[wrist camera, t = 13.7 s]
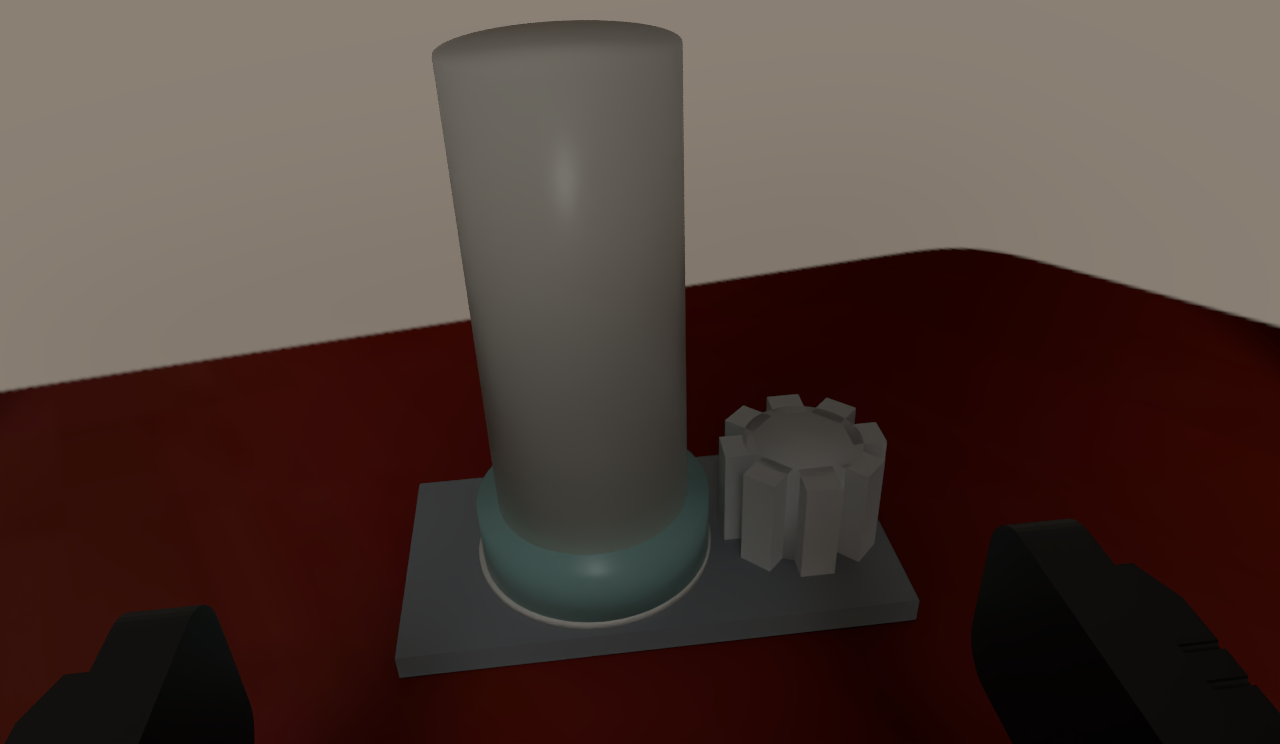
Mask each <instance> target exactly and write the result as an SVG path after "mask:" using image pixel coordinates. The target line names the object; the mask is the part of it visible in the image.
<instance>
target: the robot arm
mask: <svg viewBox="0 0 1280 744" xmlns="http://www.w3.org/2000/svg"><path fill="white" fill-rule="evenodd" d="M971 643H972V652H973V658H974V663H975V667H976V670H977V673H978V677H979V679H980V682H981V684H982V686H983V688H984V690H985V692H986V694H987V696H988V698H989V700H990V702H991V704H992V706H993V707H994V709H995V711H996V713H997V715H998V717H999V719H1000V721H1001V723H1002V724H1003V726H1004V728H1005V730H1006V732H1007V734H1008V736H1009V738H1010V740H1011V741H1012V743H1013V744H1280V713H1279V712H1278V711H1277V709H1276V708H1275V707H1274V706H1273V705H1272V704H1271V702H1270V701H1269V700H1268V699H1267V698H1266V696H1265V695H1264V694H1263V693H1262V692H1261V690H1260V689H1259V688H1258V687H1257V686H1256V685H1253V686H1251V685H1250V683H1249V681H1248V675H1247V674H1246V673H1245V671H1244V670H1243V669H1242V668H1241V667H1240V666H1239V664H1238V663H1237V662H1236V661H1235V660H1234V658H1233V657H1232V656H1231V655H1230V654H1229V652H1228V651H1227V650H1226V649H1220V648H1219V646H1218V639H1217V638H1216V637H1215V636H1214V635H1213V633H1212V632H1211V631H1210V630H1209V629H1208V628H1207V626H1206V625H1205V624H1204V623H1203V622H1202V620H1201V619H1200V618H1199V617H1198V616H1197V614H1196V613H1195V612H1194V611H1193V610H1192V609H1191V607H1190V606H1189V605H1188V604H1187V603H1186V601H1185V600H1184V599H1183V598H1182V597H1181V596H1179V595H1178V594H1176V593H1175V592H1174V591H1172V590H1171V589H1169V588H1168V587H1166V586H1165V585H1163V584H1162V583H1160V582H1159V581H1158V580H1156V579H1155V578H1153V577H1152V576H1150V575H1149V574H1147V573H1146V572H1145V571H1143V570H1142V569H1140V568H1139V567H1137V566H1136V565H1134V564H1133V563H1129V564H1120V565H1114V563H1113V562H1112V561H1111V559H1110V558H1109V557H1108V556H1107V554H1106V553H1105V552H1104V551H1103V549H1102V548H1101V547H1100V546H1099V544H1098V543H1097V542H1096V540H1095V539H1094V538H1093V537H1092V535H1091V534H1090V533H1089V532H1088V530H1087V529H1086V528H1085V527H1084V526H1083V525H1082V524H1080V523H1079V522H1078V521H1076V520H1074V519H1060V520H1050V521H1041V522H1031V523H1021V524H1011V525H1003V526H999V527H998V528H997V529H996V530H995V531H994V533H993V535H992V537H991V541H990V545H989V550H988V554H987V559H986V564H985V568H984V573H983V578H982V582H981V587H980V591H979V596H978V601H977V605H976V610H975V615H974V619H973V624H972V632H971ZM5 744H254V721H253V713H252V709H251V705H250V702H249V699H248V697H247V694H246V691H245V689H244V686H243V683H242V681H241V678H240V675H239V673H238V670H237V668H236V665H235V662H234V660H233V657H232V654H231V652H230V649H229V646H228V644H227V641H226V639H225V636H224V633H223V631H222V628H221V625H220V623H219V620H218V618H217V616H216V614H215V612H214V611H213V609H212V608H211V607H209V606H207V605H197V606H187V607H177V608H168V609H158V610H148V611H138V612H129V613H125V614H123V615H122V616H120V617H119V618H118V619H117V620H116V622H115V623H114V625H113V626H112V628H111V630H110V632H109V634H108V636H107V638H106V640H105V642H104V644H103V646H102V648H101V650H100V652H99V654H98V656H97V658H96V660H95V662H94V664H93V666H92V668H91V670H90V672H85V673H75V674H66V675H63V676H62V677H61V678H60V679H59V680H58V681H57V682H56V683H55V684H54V685H53V686H52V687H51V688H50V689H49V690H48V691H47V692H46V693H45V694H44V695H43V696H42V697H41V698H40V699H39V700H38V701H37V702H36V703H35V704H34V705H33V706H32V707H31V708H30V709H29V710H28V711H27V712H26V713H25V715H24V716H23V717H22V718H21V719H20V720H19V721H18V722H17V723H16V724H15V726H14V727H13V729H12V731H11V733H10V735H9V737H8V738H7V740H6V742H5Z"/></svg>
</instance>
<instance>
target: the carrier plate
mask: <svg viewBox="0 0 1280 744" xmlns="http://www.w3.org/2000/svg"><path fill="white" fill-rule="evenodd" d="M855 413H856V408H855V407H852V406H849V405H846V404H843V403H840V402H838V401H835V400H832V399H829V398H826V399H825V400H824V401H823V402H822V403H820V404H819V405H818V406H817V407H816V408H814V407H806V406H804V405H803V403H802V401H801V399H800V397H799V395H798V394H794V395H783V396H772V397H767V407H766V412H763V413H762V412H759V411H757V410H754V409H751V408H749V407H746V406H744V405H743V406H742V407H741V408H740V409H738V410H737V411H736V412H735V413H733V414H732V415H731V416H730V417H729V418H727V419H726V420H725V437H719V455H713V456H702V457H695V458H696V459H697V460H698V461H699V463H700V464H701V466H702V468H703V469H704V472H705V474H706V477H707V480H708V486H709V538H708V550H707V554H706V558H705V560H704V563H703V565H702V567H701V569H700V570H699V572H698V573H697V575H696V577H695V578H694V579H693V580H692V581H691V582H690V583H689V585H688V586H687V587H686V588H684V589H683V590H682V591H681V592H680V593H679V594H677V595H676V596H674V597H673V598H671V599H670V600H668V601H667V602H665V603H664V604H662V605H660V606H658V607H656V608H654V609H652V610H649V611H646V612H644V613H641V614H638V615H635V616H631V617H627V618H624V619H619V620H612V621H606V622H590V623H589V622H570V621H563V620H557V619H553V618H549V617H545V616H542V615H539V614H537V613H534V612H531V611H529V610H527V609H525V608H523V607H521V606H520V605H518V604H516V603H515V602H513V601H512V600H511V599H509V598H508V597H507V596H506V595H505V594H504V593H503V592H502V591H501V590H500V589H499V588H498V587H497V586H496V584H495V583H494V582H493V580H492V578H491V576H490V574H489V572H488V570H487V566H486V562H485V558H484V551H483V545H482V539H481V533H480V527H479V521H478V515H477V504H476V500H477V494H478V490H479V487H480V484H481V482H482V480H483V478H475V479H464V480H454V481H444V482H433V483H423V484H420V486H419V493H418V500H417V507H416V514H415V521H414V528H413V535H412V542H411V549H410V556H409V563H408V570H407V577H406V584H405V591H404V598H403V605H402V612H401V619H400V626H399V633H398V640H397V647H396V654H395V661H396V665H397V669H398V673H399V677H400V678H403V677H412V676H421V675H430V674H439V673H447V672H456V671H465V670H474V669H483V668H492V667H501V666H509V665H518V664H527V663H536V662H545V661H554V660H563V659H572V658H580V657H589V656H598V655H607V654H616V653H625V652H634V651H642V650H651V649H660V648H669V647H678V646H687V645H696V644H704V643H713V642H722V641H731V640H740V639H749V638H758V637H766V636H775V635H784V634H793V633H802V632H811V631H820V630H829V629H837V628H846V627H855V626H864V625H873V624H882V623H891V622H899V621H908V620H916V617H917V611H918V606H919V599H918V597H917V595H916V593H915V591H914V589H913V587H912V585H911V583H910V581H909V579H908V577H907V575H906V573H905V571H904V569H903V567H902V565H901V563H900V561H899V559H898V557H897V555H896V553H895V552H894V550H893V548H892V546H891V544H890V542H889V540H888V538H887V536H886V534H885V532H884V530H883V528H882V526H881V524H880V522H879V520H878V512H879V504H880V496H881V489H882V481H883V473H884V466H885V454H886V446H887V440H886V439H885V437H884V435H883V434H882V432H881V430H880V429H879V427H878V425H877V423H876V422H872V423H862V424H854V422H855Z"/></svg>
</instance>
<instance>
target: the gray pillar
mask: <svg viewBox="0 0 1280 744" xmlns="http://www.w3.org/2000/svg"><path fill="white" fill-rule="evenodd" d="M432 61H433V67H434V74H435V81H436V88H437V94H438V101H439V108H440V115H441V121H442V128H443V134H444V142H445V148H446V155H447V162H448V169H449V175H450V182H451V188H452V195H453V202H454V209H455V216H456V222H457V229H458V236H459V243H460V249H461V256H462V263H463V270H464V276H465V283H466V290H467V297H468V303H469V310H470V317H471V324H472V330H473V337H474V344H475V350H476V357H477V364H478V371H479V377H480V384H481V391H482V398H483V404H484V411H485V418H486V425H487V431H488V438H489V445H490V452H491V458H492V465H493V466H492V467H491V468H490V469H489V471H488V472H487V473H486V475H485V477H484V478H483V480H482V482H481V484H480V487H479V490H478V494H477V500H476V504H477V515H478V521H479V527H480V533H481V539H482V545H483V551H484V558H485V562H486V566H487V570H488V572H489V574H490V576H491V578H492V580H493V582H494V583H495V584H496V586H497V587H498V588H499V589H500V590H501V591H502V592H503V593H504V594H505V595H506V596H507V597H508V598H509V599H511V600H512V601H513V602H515V603H516V604H518V605H520V606H521V607H523V608H525V609H527V610H529V611H531V612H534V613H537V614H539V615H542V616H545V617H549V618H553V619H557V620H563V621H570V622H589V623H590V622H606V621H612V620H619V619H624V618H627V617H631V616H635V615H638V614H641V613H644V612H646V611H649V610H652V609H654V608H656V607H658V606H660V605H662V604H664V603H665V602H667V601H668V600H670V599H671V598H673V597H674V596H676V595H677V594H679V593H680V592H681V591H682V590H683V589H684V588H686V587H687V586H688V585H689V583H690V582H691V581H692V580H693V579H694V578H695V577H696V575H697V573H698V572H699V570H700V569H701V567H702V565H703V563H704V560H705V558H706V554H707V550H708V538H709V486H708V480H707V477H706V474H705V472H704V469H703V468H702V466H701V464H700V463H699V461H698V460H697V459H696V458H695V457H694V455H693V454H692V453H691V452H689V451H688V450H687V420H686V328H685V237H684V145H683V144H684V143H683V50H682V39H681V38H680V37H679V36H678V35H677V34H675V33H673V32H671V31H669V30H666V29H663V28H660V27H656V26H651V25H645V24H638V23H630V22H619V21H618V22H617V21H598V20H576V21H575V20H574V21H552V22H538V23H528V24H519V25H511V26H505V27H498V28H493V29H488V30H483V31H479V32H474V33H471V34H467V35H463V36H460V37H457V38H454V39H452V40H449V41H447V42H445V43H443V44H441V45H440V46H438V47H437V48H436V49H435V50H434V51H433V53H432Z"/></svg>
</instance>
